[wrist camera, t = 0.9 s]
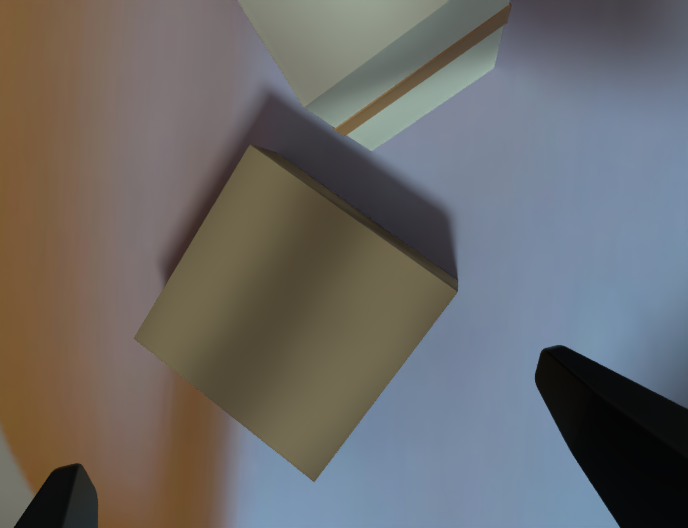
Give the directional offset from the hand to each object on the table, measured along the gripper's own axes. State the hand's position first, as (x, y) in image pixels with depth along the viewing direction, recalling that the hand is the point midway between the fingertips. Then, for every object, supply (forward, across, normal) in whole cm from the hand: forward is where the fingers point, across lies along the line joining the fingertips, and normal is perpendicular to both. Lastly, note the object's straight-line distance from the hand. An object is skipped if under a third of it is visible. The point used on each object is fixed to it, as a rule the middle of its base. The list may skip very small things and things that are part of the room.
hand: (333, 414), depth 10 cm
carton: (+15, -7, -2) cm, 17 cm away
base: (+12, -2, +7) cm, 14 cm away
